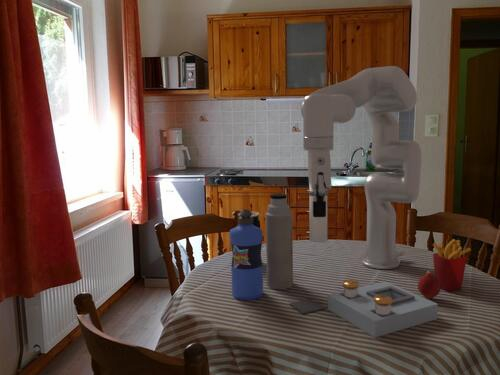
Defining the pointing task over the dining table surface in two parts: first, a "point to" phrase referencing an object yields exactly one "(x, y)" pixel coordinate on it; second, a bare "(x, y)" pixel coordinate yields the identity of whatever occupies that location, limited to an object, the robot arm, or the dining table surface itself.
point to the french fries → (450, 265)
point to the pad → (307, 306)
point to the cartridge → (317, 220)
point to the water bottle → (246, 258)
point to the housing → (402, 316)
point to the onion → (429, 286)
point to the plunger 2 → (382, 305)
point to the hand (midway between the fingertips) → (318, 213)
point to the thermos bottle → (279, 243)
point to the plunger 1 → (350, 289)
